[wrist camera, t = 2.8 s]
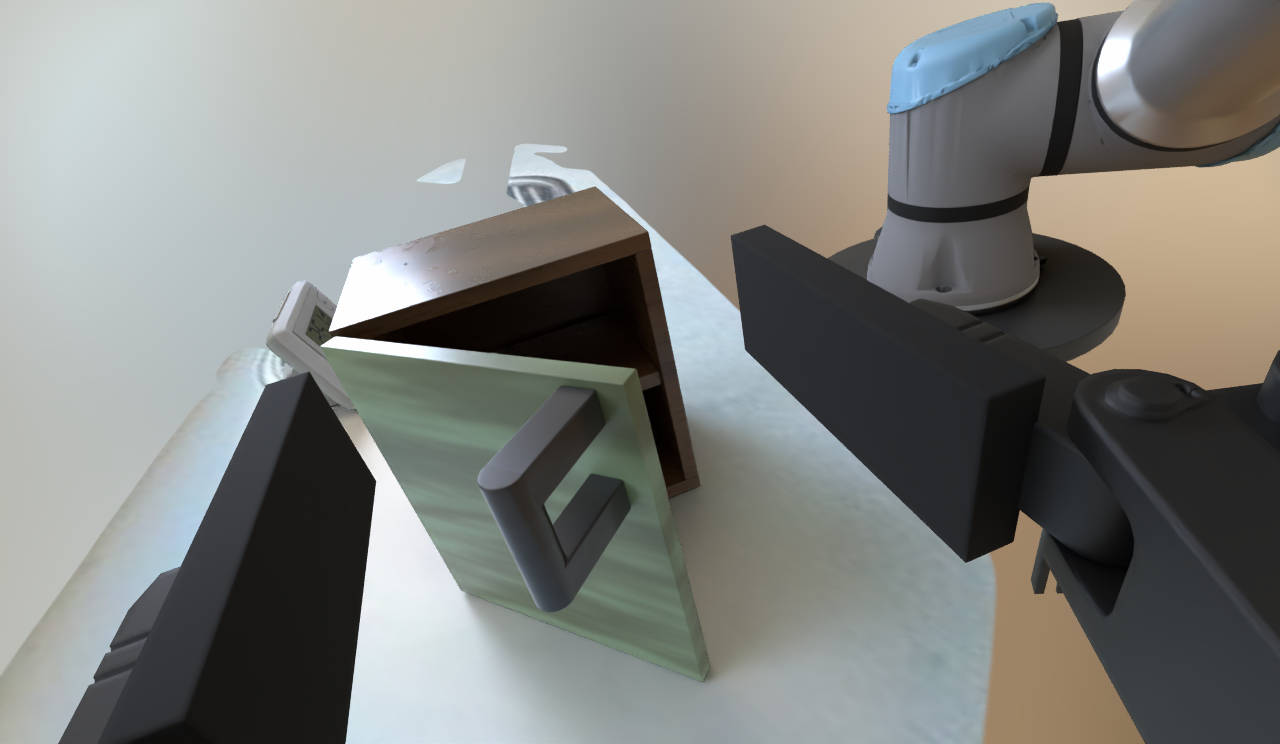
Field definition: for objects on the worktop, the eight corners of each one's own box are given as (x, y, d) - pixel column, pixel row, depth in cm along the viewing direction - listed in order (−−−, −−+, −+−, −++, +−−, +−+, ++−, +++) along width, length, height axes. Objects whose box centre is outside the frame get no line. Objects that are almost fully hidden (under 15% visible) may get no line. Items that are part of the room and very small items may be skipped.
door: (659, 793, 26) (534, 494, 16) (401, 665, 34) (213, 414, 25) (710, 665, 31) (637, 368, 21) (470, 578, 39) (335, 335, 29)
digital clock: (366, 414, 60) (314, 323, 54) (279, 436, 60) (218, 347, 54) (399, 339, 74) (360, 260, 68) (329, 357, 74) (284, 279, 68)
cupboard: (700, 485, 42) (648, 231, 32) (466, 577, 39) (327, 331, 29) (647, 400, 52) (595, 186, 42) (458, 468, 49) (353, 258, 39)
